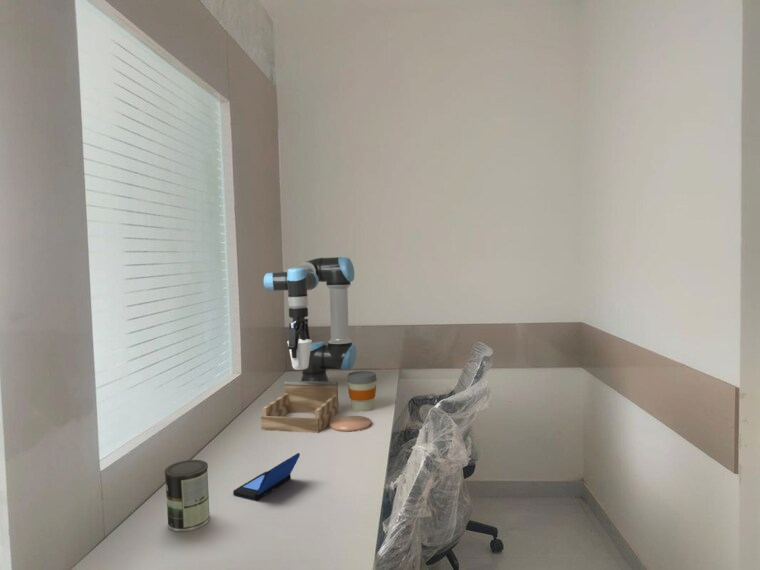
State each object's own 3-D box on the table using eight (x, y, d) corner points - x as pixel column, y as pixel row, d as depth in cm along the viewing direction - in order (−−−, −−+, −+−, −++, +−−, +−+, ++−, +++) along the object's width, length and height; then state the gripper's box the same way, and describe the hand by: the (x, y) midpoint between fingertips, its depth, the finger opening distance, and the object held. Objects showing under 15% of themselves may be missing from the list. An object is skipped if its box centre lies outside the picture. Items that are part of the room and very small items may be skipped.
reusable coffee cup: (372, 403, 241) (371, 369, 240) (381, 410, 229) (380, 375, 228) (344, 406, 237) (343, 372, 236) (352, 414, 225) (351, 378, 224)
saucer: (337, 417, 221) (337, 414, 221) (375, 419, 217) (375, 416, 217) (324, 430, 205) (324, 427, 205) (365, 432, 201) (365, 429, 201)
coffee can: (162, 533, 132) (158, 477, 131) (174, 513, 142) (171, 460, 142) (205, 530, 133) (202, 474, 132) (214, 510, 143) (211, 458, 142)
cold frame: (287, 410, 233) (286, 380, 232) (338, 412, 228) (337, 382, 227) (261, 429, 208) (259, 396, 208) (318, 432, 203) (316, 398, 202)
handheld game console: (267, 475, 166) (265, 445, 165) (302, 482, 160) (301, 451, 159) (230, 496, 152) (229, 464, 152) (268, 505, 146) (267, 471, 145)
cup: (315, 365, 221) (314, 338, 220) (309, 371, 211) (308, 342, 210) (291, 365, 222) (290, 339, 221) (285, 371, 212) (283, 343, 211)
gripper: (299, 304, 226) (302, 357, 228) (277, 310, 205) (280, 368, 206) (316, 304, 225) (318, 357, 226) (296, 310, 203) (298, 369, 205)
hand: (300, 363), depth 216 cm, fingers closed on cup, 9 cm apart
